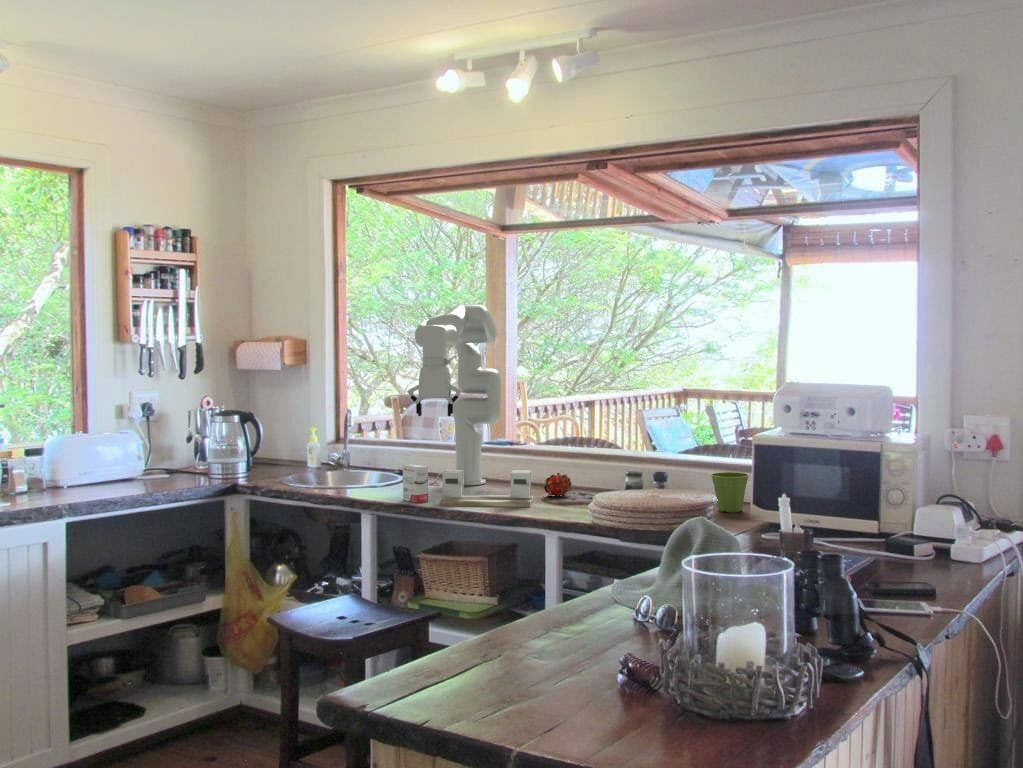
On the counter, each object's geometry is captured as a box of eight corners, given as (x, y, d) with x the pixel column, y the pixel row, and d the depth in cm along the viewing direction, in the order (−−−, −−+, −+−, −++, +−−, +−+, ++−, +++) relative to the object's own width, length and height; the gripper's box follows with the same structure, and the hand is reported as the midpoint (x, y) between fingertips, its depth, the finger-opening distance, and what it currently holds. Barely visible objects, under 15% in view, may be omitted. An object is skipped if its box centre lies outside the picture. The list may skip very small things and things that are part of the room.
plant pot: (731, 506, 303) (731, 470, 303) (757, 512, 293) (758, 475, 292) (701, 509, 298) (702, 473, 297) (727, 515, 287) (727, 478, 287)
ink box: (429, 501, 315) (428, 465, 315) (416, 503, 312) (416, 467, 311) (414, 498, 322) (414, 463, 321) (402, 500, 319) (401, 464, 318)
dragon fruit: (572, 499, 329) (548, 508, 321) (556, 482, 333) (532, 491, 325) (581, 481, 324) (557, 490, 316) (565, 464, 328) (540, 473, 320)
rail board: (445, 499, 319) (445, 468, 318) (533, 500, 316) (533, 469, 316) (439, 505, 307) (439, 473, 306) (530, 506, 304) (530, 474, 304)
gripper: (462, 362, 314) (462, 415, 315) (409, 363, 315) (410, 415, 316) (459, 363, 307) (459, 416, 307) (405, 363, 308) (406, 416, 308)
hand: (434, 416), depth 312 cm, fingers open, 9 cm apart
